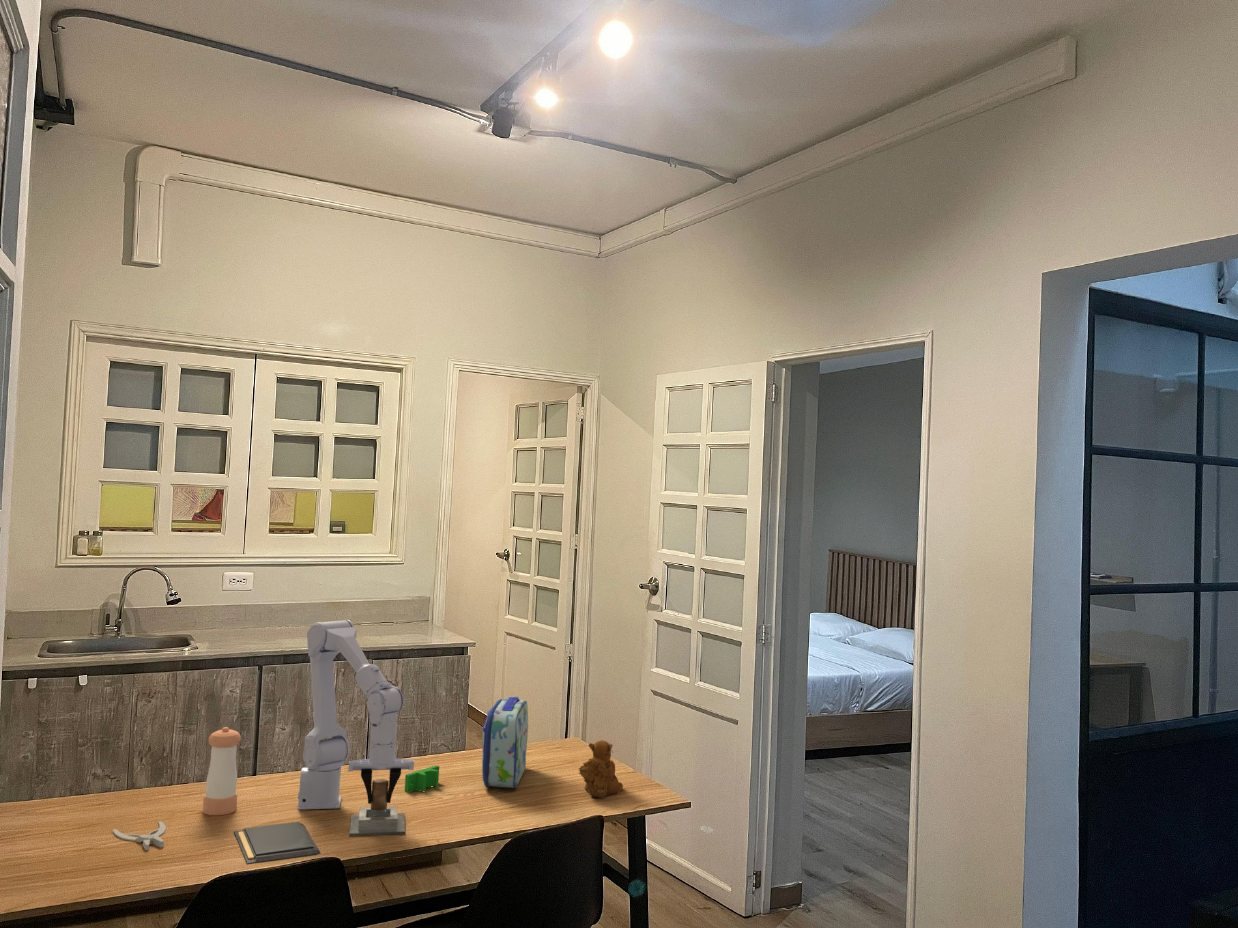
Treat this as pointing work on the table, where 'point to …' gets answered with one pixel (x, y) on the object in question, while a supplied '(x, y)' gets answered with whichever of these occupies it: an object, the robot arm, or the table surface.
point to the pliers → (145, 837)
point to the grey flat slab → (275, 842)
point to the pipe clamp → (422, 779)
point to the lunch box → (505, 743)
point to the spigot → (379, 794)
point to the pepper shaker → (222, 773)
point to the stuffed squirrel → (600, 771)
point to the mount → (377, 822)
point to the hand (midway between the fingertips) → (379, 801)
